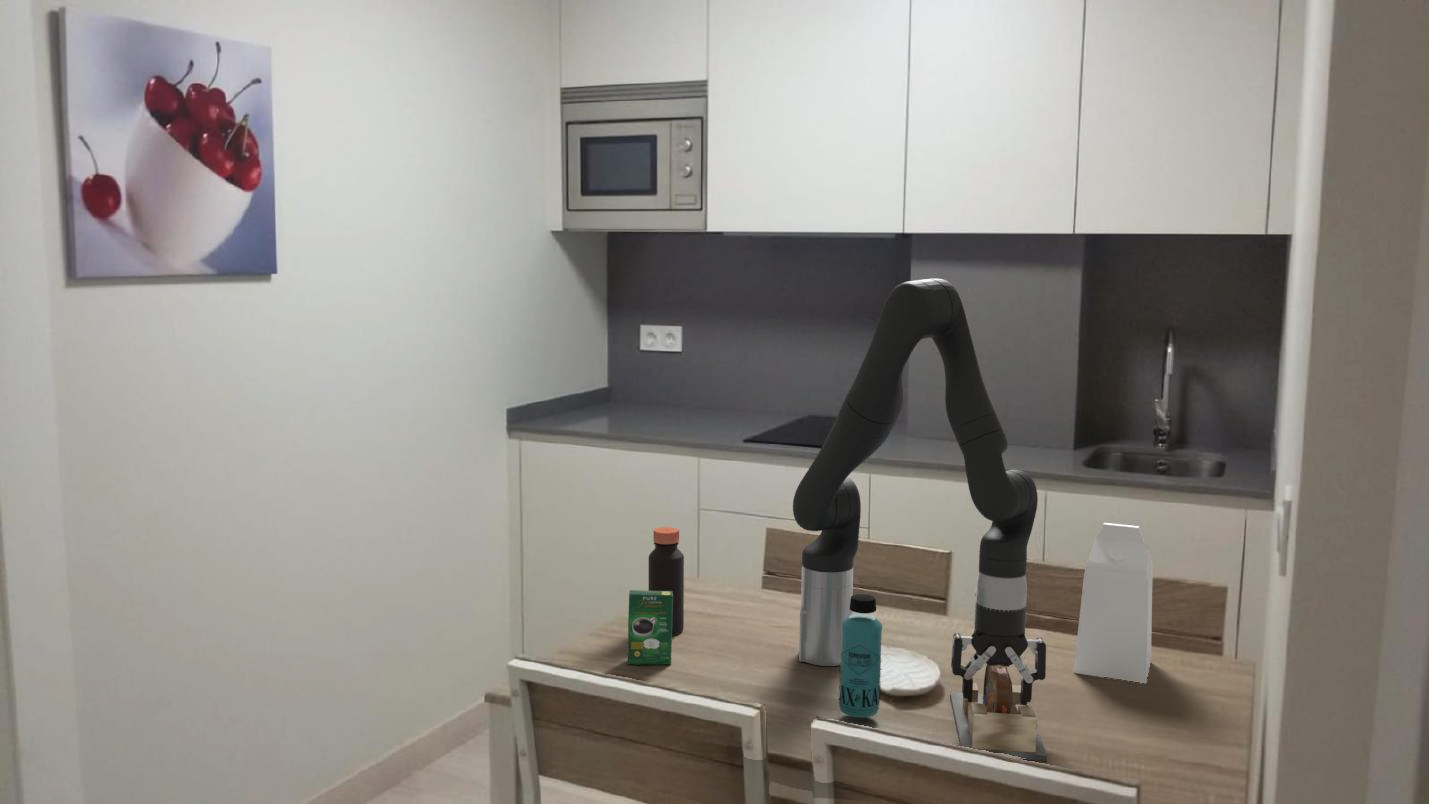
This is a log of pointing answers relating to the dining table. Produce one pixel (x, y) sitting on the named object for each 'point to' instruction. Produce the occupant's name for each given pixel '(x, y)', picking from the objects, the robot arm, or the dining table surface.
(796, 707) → the dining table surface
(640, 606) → the coffee box
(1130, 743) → the dining table surface
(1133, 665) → the milk
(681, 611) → the vinegar
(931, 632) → the dining table surface
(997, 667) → the tin
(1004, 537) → the robot arm
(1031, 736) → the clip
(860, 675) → the beverage bottle
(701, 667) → the dining table surface
